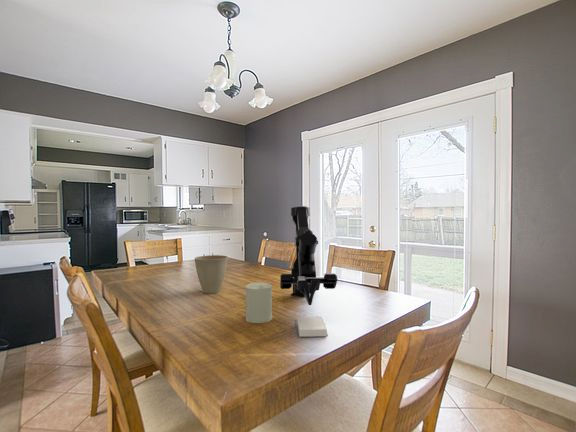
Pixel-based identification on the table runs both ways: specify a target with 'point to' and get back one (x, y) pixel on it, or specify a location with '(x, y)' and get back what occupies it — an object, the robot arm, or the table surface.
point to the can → (258, 302)
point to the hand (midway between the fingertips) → (310, 304)
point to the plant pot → (211, 272)
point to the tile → (311, 326)
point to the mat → (298, 332)
